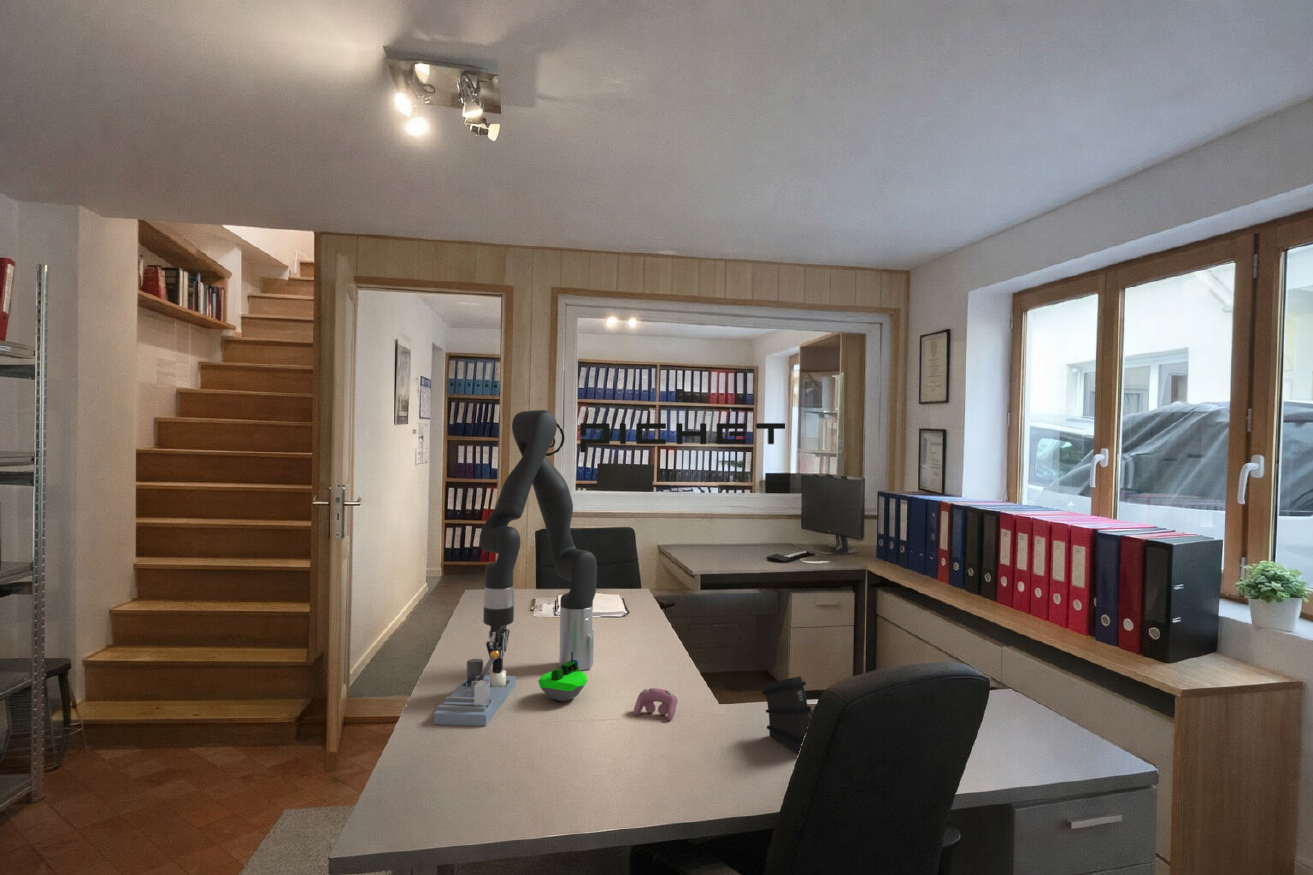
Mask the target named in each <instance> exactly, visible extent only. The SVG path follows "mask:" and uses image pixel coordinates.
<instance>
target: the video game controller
mask: <svg viewBox="0 0 1313 875" xmlns="http://www.w3.org/2000/svg"><path fill="white" fill-rule="evenodd" d="M654 702H656V703H657V702H658V703H660V704H659V706H658V707H657V712H658V714H660V715H661V716H666V715H667V717H666V718H667V721H668V722H671V721H672V720H673V719H674V716H675V713H676V708H677V705H678V697H677V696H676V695H675V694H674V693H672V692H671V691H669V690H666V689H662V688H657V687H656V688H655V687H652V688H645V689H643V690H642V691H640V693H639V695H638V697H637V699H636V701H635V703H634V708H633V715H634V716H635V717H637V716H638V715H640V714H641V712H642V710H643V708H645V711H646V712H647V713H648V714H653V713H655V712H656V704H655V703H654Z"/></svg>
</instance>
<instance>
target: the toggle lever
mask: <svg viewBox="0 0 1313 875" xmlns="http://www.w3.org/2000/svg"><path fill="white" fill-rule="evenodd" d="M490 656H491V657H489V659H488V660H487V663H486V664H485V666H483V671H482V672H481V674H480V676H479V677H478V679H477V680H476V681H480V680H482V681H483V678H484V677H485V675H487V673H488V672H489V670H490V669H491V666H493V662H494V660H495V659H497V658H498V657H499V651H497V650H493V651H492V652H491V653H490Z"/></svg>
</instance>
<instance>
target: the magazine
mask: <svg viewBox="0 0 1313 875" xmlns="http://www.w3.org/2000/svg"><path fill="white" fill-rule="evenodd" d="M806 685H807V684H806V681H803V680H802V676H795V677H790V678H789V677H788V678H786V679H782V680H779V681H775V682H770V683H767V684H766V683H765V684H763V690H762V691H761V694H762V696H763V695H765V699H766V704H767V709H766V710H765V713H766V714H768V721H769V724H768V725H767V726H766V729H767V730H768V731H769V737H771V738H772V739H774V740H775V741H777V742H779V743H780V744H782V745H783V746H785V747H787V748H788V749H790V750H791V751H793V752H795V753H796V754H798V753H799V751H800V748H801V744H802V742H803V739H804V736H805V734H806V732H807V727H808V724H809V721H811V720H810V714H809V712H811V711H812V709H811V705H808V700H807V695H806V691H805V686H806Z"/></svg>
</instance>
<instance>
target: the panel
mask: <svg viewBox="0 0 1313 875" xmlns="http://www.w3.org/2000/svg"><path fill="white" fill-rule="evenodd" d="M478 677H479V676H476V680H477V679H478ZM516 679H517V678H516V675H506V687H490V702H489V703H488V705H487V706H486V707H476V706H474V686H475V685H476V684H477V683H478V682H479V681H471V684H468V683H467V678H466V679H465V680H463V682H462V683H460V685H459V686H458V687H457V688H456V689H455V690H454V691H453V692H452V694H451V695H450V696H446V697H445V701H444V702H443V703H441V704H439V705H437V709H436V711H434V713H433V725H442V726H443V725H444V726H445V725H449V726H468V725H469V727H470V726H471V727H472V726H473V727H487V725H488V724H489V722H490V721H491V720H492V718H494V715H495V714H496V713H497V711H499V709H500V707H501V706H502V705H503V704H504V702H505V701H506V699H507V698H508V696H509V695H510V694H511V692H512V691H513V690H512V689H514V688H516V681H517V680H516ZM483 681H490V674H486V675H485V677H484V678H483Z"/></svg>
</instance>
